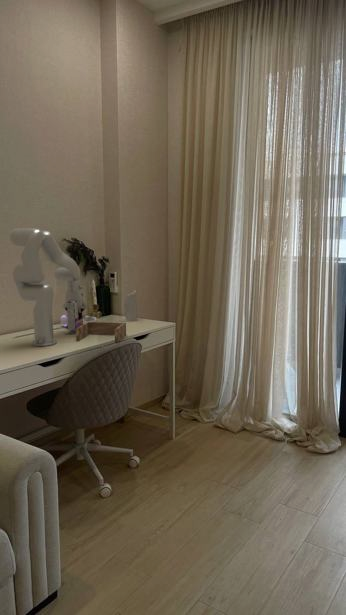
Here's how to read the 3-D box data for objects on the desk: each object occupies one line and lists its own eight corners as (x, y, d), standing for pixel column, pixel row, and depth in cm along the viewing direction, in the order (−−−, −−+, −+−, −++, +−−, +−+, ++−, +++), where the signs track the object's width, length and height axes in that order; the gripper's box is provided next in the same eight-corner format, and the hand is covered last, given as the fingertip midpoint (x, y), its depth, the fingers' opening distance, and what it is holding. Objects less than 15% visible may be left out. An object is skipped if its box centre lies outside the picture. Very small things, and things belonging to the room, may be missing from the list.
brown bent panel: (117, 342, 238) (116, 329, 237) (76, 341, 242) (75, 328, 241) (126, 334, 256) (125, 322, 255) (88, 333, 260) (87, 321, 259)
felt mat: (78, 334, 258) (78, 334, 258) (65, 334, 259) (65, 333, 259) (85, 330, 270) (85, 329, 270) (72, 329, 271) (72, 329, 271)
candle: (117, 319, 305) (116, 289, 302) (137, 319, 303) (137, 289, 300) (114, 321, 298) (114, 291, 294) (135, 321, 296) (135, 291, 293)
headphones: (54, 326, 276) (84, 334, 268) (55, 314, 275) (84, 321, 266) (77, 320, 296) (105, 327, 287) (78, 309, 295) (106, 316, 286)
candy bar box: (75, 325, 270) (74, 298, 267) (83, 325, 269) (82, 298, 266) (67, 329, 259) (66, 301, 256) (75, 330, 258) (74, 301, 255)
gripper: (90, 287, 263) (91, 318, 266) (62, 287, 266) (64, 317, 269) (85, 289, 256) (87, 320, 259) (57, 288, 258) (58, 320, 261)
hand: (75, 318), depth 264 cm, fingers closed on candy bar box, 5 cm apart
